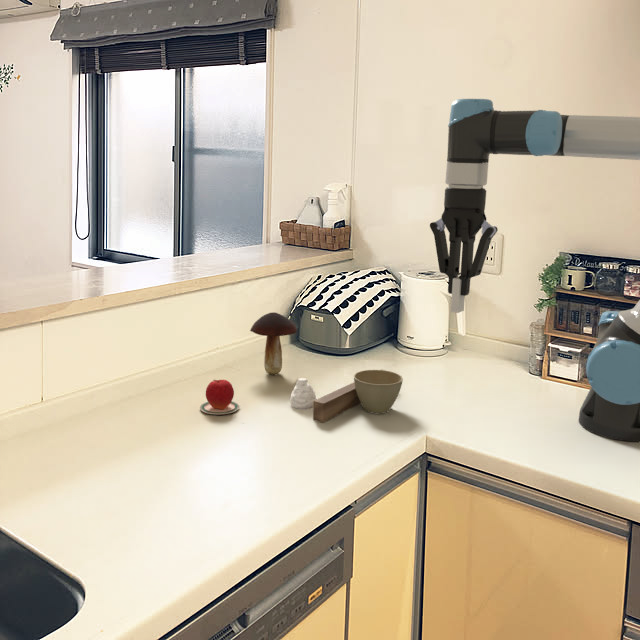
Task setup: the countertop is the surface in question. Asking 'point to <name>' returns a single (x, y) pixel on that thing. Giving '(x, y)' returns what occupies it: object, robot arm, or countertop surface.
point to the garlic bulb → (302, 395)
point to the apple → (219, 398)
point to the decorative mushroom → (273, 338)
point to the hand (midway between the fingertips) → (457, 311)
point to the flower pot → (377, 389)
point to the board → (335, 403)
